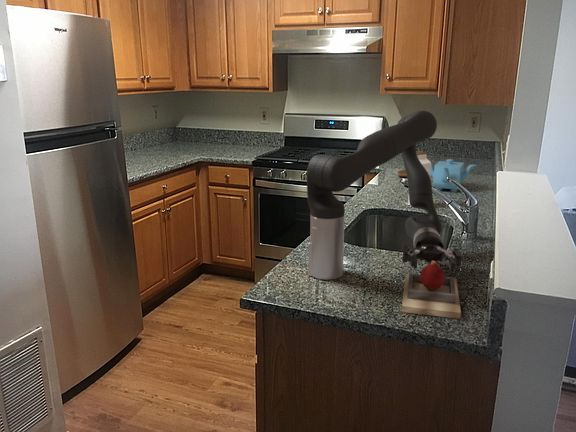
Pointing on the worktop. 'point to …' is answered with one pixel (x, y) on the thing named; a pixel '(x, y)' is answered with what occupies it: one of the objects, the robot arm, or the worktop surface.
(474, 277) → the worktop surface
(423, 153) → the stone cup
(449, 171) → the teakettle
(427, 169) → the milk
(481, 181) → the worktop surface
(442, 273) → the red rounded piece
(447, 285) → the tray
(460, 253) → the robot arm
